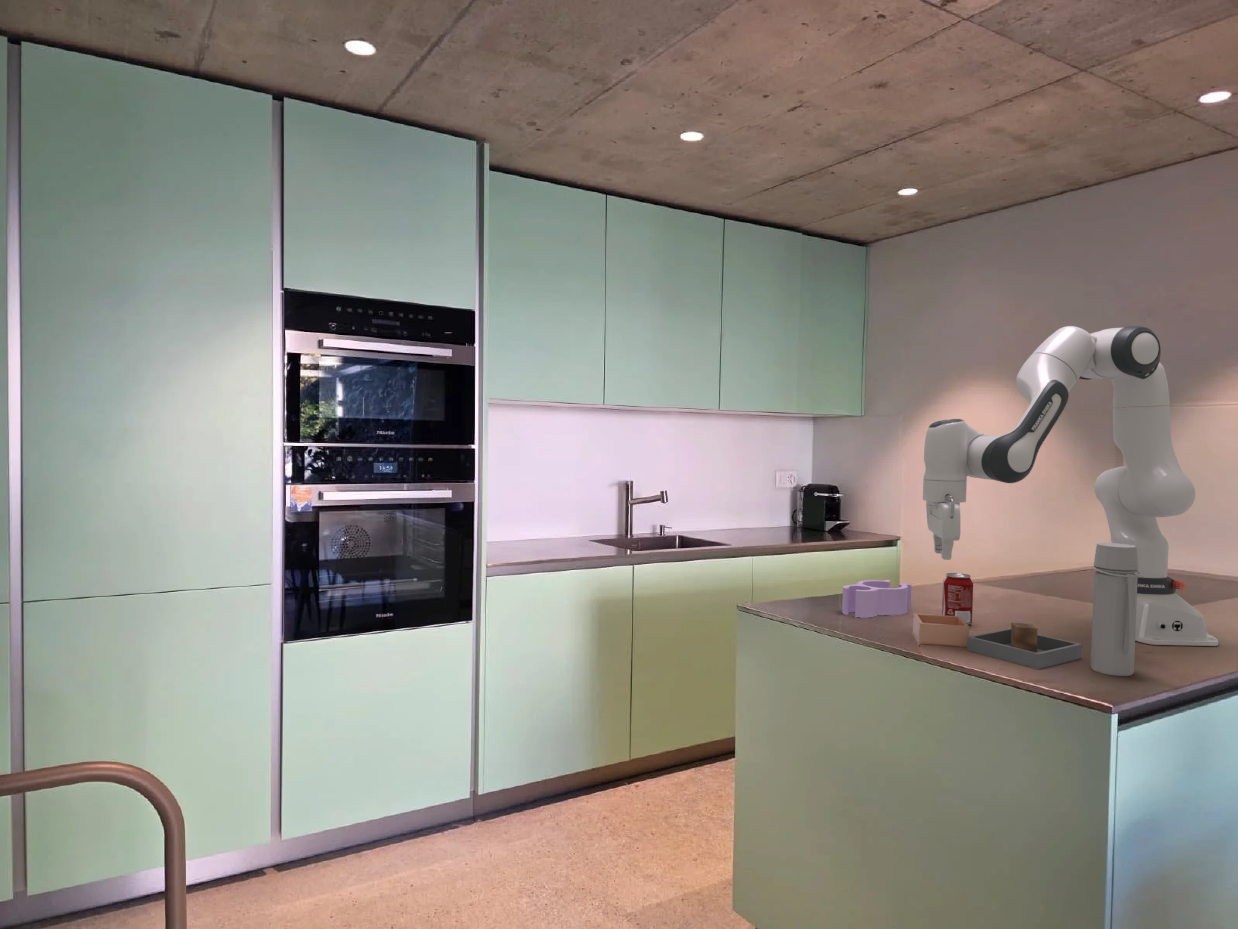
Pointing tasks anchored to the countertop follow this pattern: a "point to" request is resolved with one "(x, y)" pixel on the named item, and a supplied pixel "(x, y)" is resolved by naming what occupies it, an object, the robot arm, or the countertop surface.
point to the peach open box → (940, 630)
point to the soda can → (958, 596)
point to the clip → (876, 598)
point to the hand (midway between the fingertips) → (942, 556)
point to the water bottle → (1114, 609)
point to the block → (1024, 636)
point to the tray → (1046, 656)
